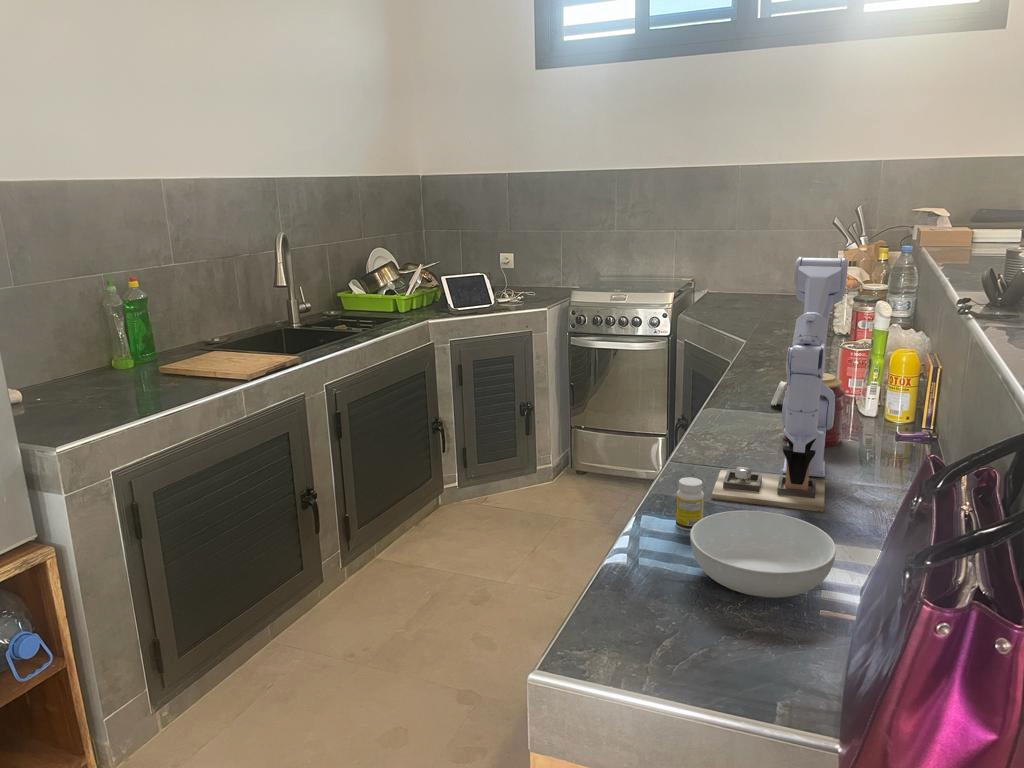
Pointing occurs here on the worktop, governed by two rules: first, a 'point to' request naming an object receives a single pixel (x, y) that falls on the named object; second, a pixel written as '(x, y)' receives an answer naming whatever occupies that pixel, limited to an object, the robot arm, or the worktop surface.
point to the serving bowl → (762, 552)
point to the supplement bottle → (689, 503)
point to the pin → (743, 475)
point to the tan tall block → (796, 486)
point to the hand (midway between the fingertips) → (797, 476)
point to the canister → (835, 432)
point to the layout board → (769, 491)
